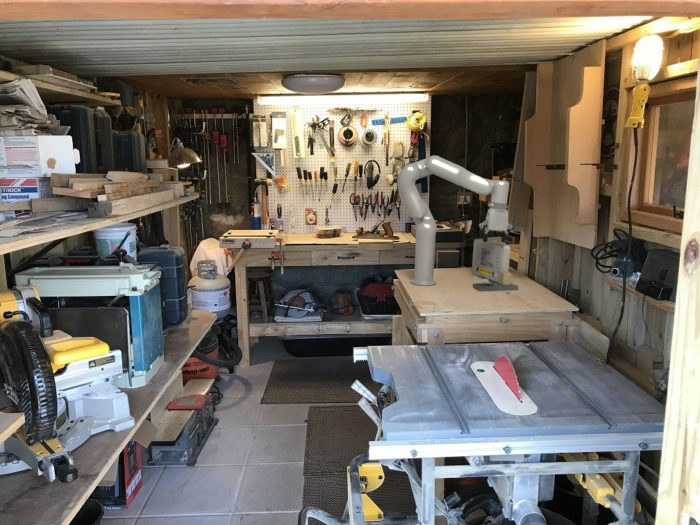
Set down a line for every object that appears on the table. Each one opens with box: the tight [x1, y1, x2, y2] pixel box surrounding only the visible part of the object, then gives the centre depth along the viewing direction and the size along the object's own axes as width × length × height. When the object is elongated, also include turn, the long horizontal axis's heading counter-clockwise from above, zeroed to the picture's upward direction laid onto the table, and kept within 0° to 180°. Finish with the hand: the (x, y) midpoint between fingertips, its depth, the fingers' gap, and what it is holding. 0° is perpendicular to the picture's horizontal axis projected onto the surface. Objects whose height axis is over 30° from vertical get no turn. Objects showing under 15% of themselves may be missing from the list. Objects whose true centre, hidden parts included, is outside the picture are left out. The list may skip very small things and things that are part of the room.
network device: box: [471, 238, 511, 283], centre depth 281 cm, size 26×9×20 cm, turn 22°
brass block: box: [498, 271, 512, 286], centre depth 266 cm, size 4×4×8 cm
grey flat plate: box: [472, 282, 519, 292], centre depth 266 cm, size 8×20×2 cm, turn 103°
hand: (494, 242), depth 264 cm, fingers open, 9 cm apart
